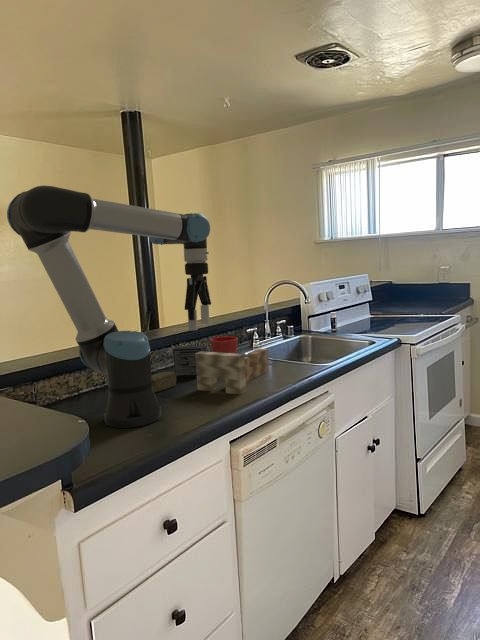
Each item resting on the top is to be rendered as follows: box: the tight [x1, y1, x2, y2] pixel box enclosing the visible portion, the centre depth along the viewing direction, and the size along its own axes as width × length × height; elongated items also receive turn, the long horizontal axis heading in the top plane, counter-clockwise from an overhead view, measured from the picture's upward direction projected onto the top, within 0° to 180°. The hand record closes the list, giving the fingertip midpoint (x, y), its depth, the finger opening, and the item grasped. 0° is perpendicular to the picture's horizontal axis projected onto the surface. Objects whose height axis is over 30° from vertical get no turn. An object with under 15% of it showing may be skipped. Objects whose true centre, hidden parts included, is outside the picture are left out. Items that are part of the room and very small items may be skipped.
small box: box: [172, 344, 205, 378], centre depth 177 cm, size 11×6×10 cm, turn 84°
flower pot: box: [209, 336, 239, 354], centre depth 194 cm, size 11×11×10 cm
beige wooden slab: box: [195, 350, 247, 396], centre depth 153 cm, size 16×4×12 cm, turn 60°
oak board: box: [244, 348, 270, 383], centre depth 168 cm, size 22×4×8 cm, turn 150°
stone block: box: [152, 371, 177, 394], centre depth 160 cm, size 6×12×5 cm, turn 141°
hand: (199, 327), depth 160 cm, fingers open, 13 cm apart
